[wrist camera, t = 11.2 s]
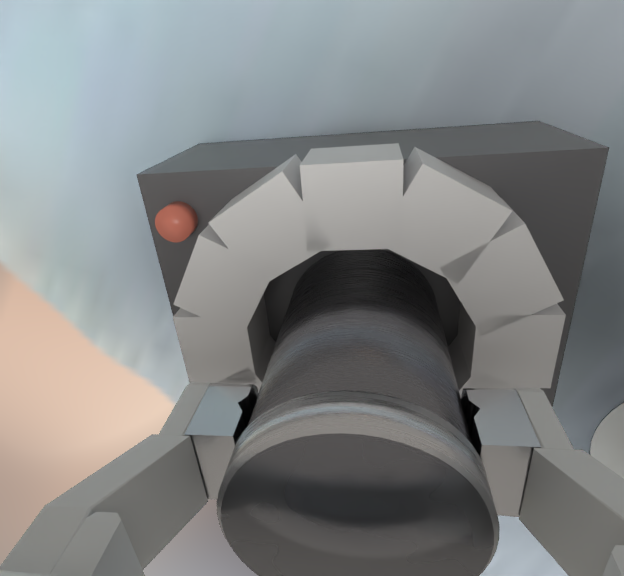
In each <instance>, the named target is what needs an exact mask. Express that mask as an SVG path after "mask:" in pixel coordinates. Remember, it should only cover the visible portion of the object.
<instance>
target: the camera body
mask: <svg viewBox="0 0 624 576" xmlns="http://www.w3.org/2000/svg"><path fill="white" fill-rule="evenodd" d="M608 150H609V147H606V146H603V145H601V144H598V143H596V142H593V141H590V140H588V139H585V138H582V137H580V136H577V135H574V134H572V133H569V132H566V131H564V130H561V129H558V128H556V127H553V126H551V125H548V124H545V123H543V122H540V121H532V122H517V123H502V124H487V125H472V126H457V127H442V128H427V129H412V130H396V131H381V132H366V133H351V134H336V135H321V136H306V137H291V138H276V139H261V140H246V141H231V142H216V143H201V144H198V145H195V146H193V147H191V148H189V149H187V150H185V151H183V152H181V153H179V154H177V155H175V156H173V157H171V158H169V159H167V160H165V161H163V162H161V163H159V164H157V165H155V166H153V167H151V168H149V169H147V170H145V171H143V172H141V173H139V174H137V178H138V182H139V186H140V190H141V194H142V197H143V201H144V205H145V209H146V213H147V217H148V220H149V224H150V228H151V232H152V236H153V240H154V244H155V247H156V251H157V255H158V259H159V263H160V267H161V270H162V274H163V278H164V282H165V286H166V290H167V294H168V297H169V301H170V305H171V309H172V313H173V320H174V324H175V328H176V332H177V336H178V339H179V343H180V347H181V351H182V355H183V359H184V362H185V366H186V370H187V374H188V378H189V381H190V383H192V382H197V383H231V384H254V385H255V386H257V389H258V393H259V390H260V388H261V385H262V382H263V379H264V376H265V373H266V370H267V367H268V364H269V361H270V358H271V355H272V352H273V350H274V347H275V344H276V341H277V338H278V335H279V332H280V329H281V326H282V323H283V320H284V317H285V314H286V311H287V309H288V306H289V303H290V300H291V297H292V294H293V291H294V289H295V286H296V284H297V282H298V281H299V279H300V277H301V276H302V275H303V274H304V272H305V271H306V270H307V269H308V268H309V267H310V266H311V265H312V264H314V263H315V262H317V261H318V260H319V259H321V258H323V257H325V256H327V255H329V254H331V253H334V252H336V251H340V250H369V249H381V250H385V251H389V252H391V253H394V254H396V255H399V256H400V257H402V258H404V259H406V260H407V261H409V262H410V263H412V264H413V265H414V266H415V267H416V268H418V269H419V270H420V271H421V272H422V274H423V275H424V276H425V277H426V279H427V280H428V282H429V284H430V285H431V287H432V289H433V292H434V295H435V298H436V302H437V306H438V310H439V314H440V318H441V322H442V326H443V330H444V334H445V338H446V342H447V346H448V350H449V354H450V357H451V361H452V365H453V369H454V373H455V377H456V381H457V385H458V389H459V393H460V397H461V395H462V391H463V388H492V389H514V388H540V389H541V390H543V391H544V393H545V395H546V396H547V398H548V400H549V402H550V404H551V406H553V402H554V397H555V393H556V388H557V383H558V379H559V374H560V370H561V365H562V361H563V356H564V351H565V347H566V342H567V338H568V333H569V329H570V324H571V319H572V315H573V310H574V306H575V301H576V297H577V292H578V287H579V283H580V278H581V274H582V269H583V265H584V260H585V255H586V251H587V246H588V242H589V237H590V232H591V228H592V223H593V219H594V214H595V210H596V205H597V200H598V196H599V191H600V187H601V182H602V178H603V173H604V168H605V164H606V159H607V155H608Z"/></svg>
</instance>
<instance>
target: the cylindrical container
mask: <svg viewBox="0 0 624 576" xmlns="http://www.w3.org/2000/svg"><path fill="white" fill-rule="evenodd" d="M590 454H591V456H592V457H594V458H595V459H596V460H598V461H599V462H601V463H602V464H604V465H605V466H606V467H608V468H609V469H611V470H612V471H614V472H615V473H616V474H618V475H619V476H621V477H622V478H624V403H622V404H621V405H619V406H618V407H617V408H615V409H614V410H612V411H611V412H610V413H609V414H608V415H607V416H606V417H605V418H604V419H603V420H602V422H601V423H600V425H599V426H598V427H597V429H596V431H595V433H594V435H593V438H592V440H591V447H590Z"/></svg>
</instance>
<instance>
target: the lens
mask: <svg viewBox="0 0 624 576" xmlns="http://www.w3.org/2000/svg"><path fill="white" fill-rule="evenodd" d="M217 515H218V520H219V524H220V527H221V529H222V532H223V534H224V536H225V538H226V539H227V541H228V543H229V545H230V546H231V547H232V549H233V551H234V552H235V553H236V554H237V556H238V557H239V558H240V559H241V561H242V562H244V563H245V564H246V565H247V566H248V567H249V568H250V569H251V570H252V571H253V572H255V573H256V574H257V575H258V576H479V575H480V574H481V573H482V572H483V571H484V570H485V568H486V567H487V566H488V564H489V563H490V562H491V560H492V558H493V556H494V554H495V552H496V549H497V545H498V541H499V521H498V516H497V512H496V508H495V504H494V501H493V497H492V493H491V489H490V486H489V482H488V478H487V474H486V471H485V468H484V465H483V463H482V460H481V458H480V456H479V455H478V453H477V451H476V450H475V448H474V447H473V445H472V441H471V437H470V433H469V429H468V425H467V421H466V417H465V413H464V409H463V405H462V401H461V397H460V393H459V389H458V385H457V381H456V377H455V373H454V369H453V365H452V361H451V357H450V354H449V350H448V346H447V342H446V338H445V334H444V330H443V326H442V322H441V318H440V314H439V310H438V306H437V302H436V298H435V295H434V292H433V289H432V287H431V285H430V284H429V282H428V280H427V279H426V277H425V276H424V275H423V274H422V272H421V271H420V270H419V269H418V268H416V267H415V266H414V265H413V264H412V263H410V262H409V261H407V260H406V259H404V258H402V257H400V256H399V255H396V254H394V253H391V252H389V251H385V250H381V249H369V250H340V251H336V252H334V253H331V254H329V255H327V256H325V257H323V258H321V259H319V260H318V261H317V262H315V263H314V264H312V265H311V266H310V267H309V268H308V269H307V270H306V271H305V272H304V274H303V275H302V276H301V277H300V279H299V281H298V282H297V284H296V286H295V289H294V291H293V294H292V297H291V300H290V303H289V306H288V309H287V311H286V314H285V317H284V320H283V323H282V326H281V329H280V332H279V335H278V338H277V341H276V344H275V347H274V350H273V352H272V355H271V358H270V361H269V364H268V367H267V370H266V373H265V376H264V379H263V382H262V385H261V388H260V390H259V393H258V396H257V399H256V402H255V405H254V408H253V411H252V414H251V417H250V420H249V423H248V426H247V428H246V429H245V430H244V431H243V432H242V434H241V436H240V437H239V439H238V440H237V442H236V445H235V447H234V450H233V452H232V455H231V458H230V461H229V463H228V466H227V469H226V472H225V475H224V477H223V480H222V483H221V486H220V489H219V492H218V498H217Z"/></svg>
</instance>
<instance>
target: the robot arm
mask: <svg viewBox="0 0 624 576" xmlns="http://www.w3.org/2000/svg"><path fill="white" fill-rule="evenodd" d="M257 396H258V389H257V386H255V385H254V384H231V383H197V382H192V383H190V384H188V385H187V386H186V388H185V390H184V391H183V393H182V395H181V396H180V398H179V400H178V402H177V403H176V405H175V407H174V409H173V410H172V412H171V414H170V416H169V417H168V419H167V421H166V423H165V425H164V426H163V428H162V430H161V431H160V433H159V435H151V436H149V437H148V438H146V439H145V440H143V441H142V442H140V443H139V444H137V445H136V446H134V447H133V448H131V449H130V450H128V451H127V452H125V453H124V454H122V455H121V456H119V457H118V458H116V459H114V460H113V461H112V462H110V463H109V464H107V465H105V466H104V467H102V468H101V469H99V470H98V471H97V472H95V473H93V474H92V475H90V476H89V477H87V478H86V479H84V480H83V481H81V482H80V483H78V484H77V485H76V486H74V487H73V488H71V489H69V490H68V491H66V492H65V493H64V494H62V495H60V496H59V497H57V498H56V499H54V500H53V501H51V502H50V503H48V504H47V505H45V506H44V508H43V509H42V510H41V511H40V513H39V514H38V515H37V517H36V518H35V520H34V521H33V522H32V524H31V525H30V527H29V528H28V529H27V530H26V532H25V533H24V534H23V536H22V537H21V539H20V540H19V541H18V543H17V544H16V545H15V547H14V548H13V549H12V551H11V552H10V553H9V555H8V556H7V557H6V559H5V560H4V562H3V563H2V564H1V566H0V576H145V575H144V572H143V569H144V568H145V567H146V566H147V565H148V564H149V563H150V562H151V561H152V560H153V559H154V558H155V557H156V556H157V555H158V553H160V551H161V550H162V549H163V548H164V547H165V546H166V545H167V544H168V543H169V542H170V541H171V540H172V539H173V538H174V537H175V536H176V535H177V534H178V532H179V531H180V530H181V529H182V528H183V527H184V526H185V525H186V524H187V523H188V522H189V521H190V520H191V519H192V518H193V517H194V516H195V515H196V514H197V513H198V512H199V511H200V510H201V508H202V507H203V506H204V505H205V504H206V503H207V502H208V499H217V498H218V492H219V489H220V486H221V483H222V480H223V477H224V475H225V472H226V469H227V466H228V463H229V461H230V458H231V455H232V452H233V450H234V447H235V445H236V442H237V440H238V439H239V437H240V436H241V434H242V432H243V431H244V430H245V429H246V428H247V426H248V423H249V420H250V417H251V414H252V411H253V408H254V405H255V402H256V399H257ZM461 401H462V405H463V409H464V413H465V417H466V421H467V425H468V429H469V433H470V437H471V441H472V445H473V447H474V448H475V450H476V451H477V453H478V455H479V456H480V458H481V460H482V463H483V465H484V468H485V471H486V474H487V478H488V482H489V486H490V489H491V493H492V497H493V501H494V504H495V508H496V512H497V515H502V516H514V517H519V520H520V521H521V522H522V523H523V524H524V525H525V526H526V528H527V529H528V530H529V531H530V532H531V533H532V534H533V536H534V537H535V538H536V539H537V540H538V541H539V542H540V543H541V545H542V546H543V547H544V548H545V549H546V550H547V551H548V553H549V554H550V555H551V556H552V557H553V558H554V559H555V561H556V562H557V563H558V564H559V565H560V566H561V567H562V568H563V570H564V571H565V572H566V573H567V574H568V575H569V576H624V478H622V477H621V476H619V475H618V474H616V473H615V472H614V471H612V470H611V469H609V468H608V467H606V466H605V465H604V464H602V463H601V462H599V461H598V460H596V459H595V458H594V457H592V456H591V455H589V454H588V453H587V452H585V451H584V450H577V449H574V448H573V446H572V444H571V442H570V440H569V438H568V437H567V435H566V433H565V431H564V429H563V427H562V425H561V423H560V421H559V419H558V417H557V416H556V414H555V412H554V410H553V408H552V406H551V404H550V402H549V400H548V398H547V396H546V395H545V393H544V391H543V390H541V389H540V388H514V389H492V388H463V391H462V395H461Z"/></svg>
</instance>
